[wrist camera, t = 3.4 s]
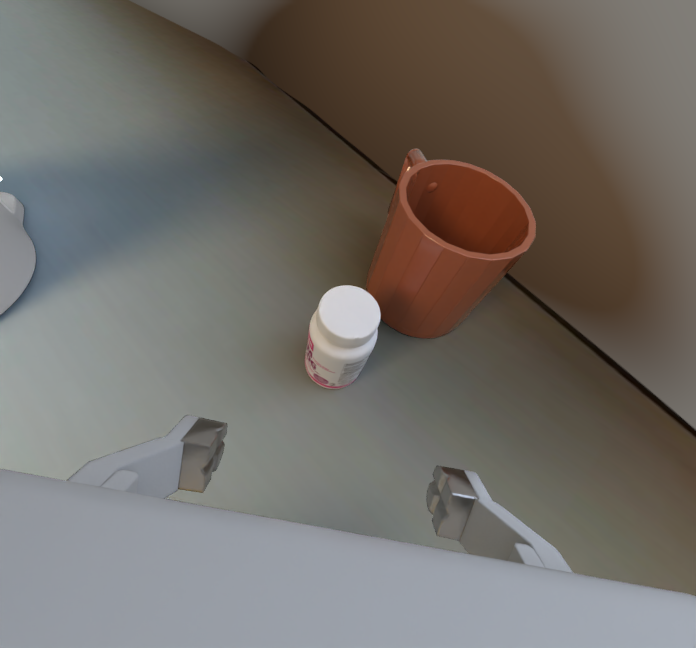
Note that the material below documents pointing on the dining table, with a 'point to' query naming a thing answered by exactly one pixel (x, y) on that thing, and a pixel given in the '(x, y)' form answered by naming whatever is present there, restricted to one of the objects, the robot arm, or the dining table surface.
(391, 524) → the dining table surface
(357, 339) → the pill bottle
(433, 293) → the reddish brown mug
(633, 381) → the dining table surface
